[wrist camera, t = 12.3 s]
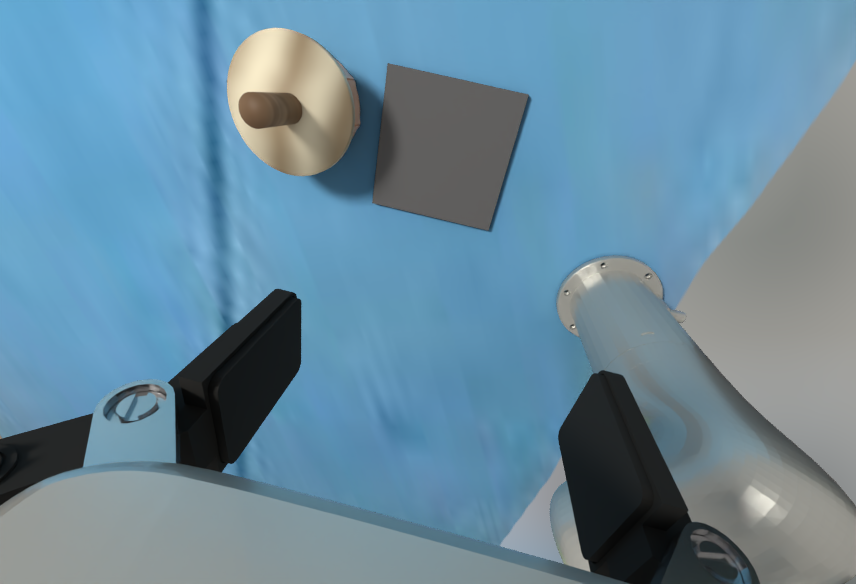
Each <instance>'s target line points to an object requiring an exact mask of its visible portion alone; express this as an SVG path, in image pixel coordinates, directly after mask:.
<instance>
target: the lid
mask: <svg viewBox="0 0 856 584" xmlns="http://www.w3.org/2000/svg"><path fill="white" fill-rule="evenodd" d="M227 95H228V102H229V107H230V111H231V114H232V118H233V120H234V123H235V125H236V127H237V129H238V131H239V133H240V135H241V137H242V138H243V140H244V141H245V143H246V144H247V145H248V147H249V148H250V149H251V150H252V151H253V152H254V153H255V154H256V155H257V156H258V157H259V158H260V159H261V160H262V161H264V162H265V163H266V164H268V165H269V166H271V167H272V168H274V169H276V170H278V171H280V172H283V173H286V174H290V175H294V176H310V175H314V174H318V173H320V172H323V171H325V170H327V169H329V168H330V167H332V166H333V165H335V164H336V163H337V162H338V161H339V160H340V159H341V158H342V157H343V155H344V154H345V152H346V151H347V149H348V147H349V145H350V143H351V139H352V136H353V132H354V126H355V107H354V100H353V96H352V92H351V88H350V86H349V83H348V81H347V78H346V76H345V74H344V72H343V70H342V69H341V67H340V66H339V64H338V63H337V61H336V60H335V59H334V57H333V56H332V55H331V54H330V53H329V52H328V51H327V50H326V49H325V48H324V47H323V46H322V45H320V44H319V43H318V42H316V41H315V40H314V39H312V38H310V37H308V36H306V35H304V34H301V33H298V32H296V31H293V30H289V29H284V28H270V29H264V30H261V31H259V32H256V33H255V34H253V35H251V36H250V37H248V38H247V39H246V40H245V41H244V42H243V43H242V44H241V45H240V46H239V48H238V49H237V51H236V52H235V54H234V56H233V59H232V61H231V64H230V67H229V71H228V79H227Z"/></svg>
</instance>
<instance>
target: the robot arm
mask: <svg viewBox="0 0 856 584" xmlns="http://www.w3.org/2000/svg"><path fill="white" fill-rule="evenodd" d="M602 263H603V264H602ZM565 290H567V291H565ZM662 299H663V288H662V284H661V281H660V279H659V278H658V276H657V275H656V273H655V272H654V271H653V270H652V269H651V268H650V267H649V266H647V265H646V264H645V263H643V262H641V261H639V260H637V259H635V258H631V257H627V256H616V255H613V256H604V257H600V258H596V259H593V260H591V261H588V262H586V263H584V264H582V265H581V266H579V267H578V268H576V269H575V270H574V271H573V272H571V273H570V274H569V275H568V276H567V278H566V279H565V280H564V281H563V283H562V285H561V287H560V289H559V291H558V295H557V301H556V306H557V311H558V315H559V317H560V320H561V322H562V323H563V325H564V326H565V327H566V328H567V329H568V330H569V331H570V332H571V333H573V334H574V335H576V336H578V337H580V339H581V342H582V344H583V347H584V350H585V352H586V355H587V357H588V360H589V363H590V365H591V368H592V371H593V373H594V374H592V376H591V377H590V379H589V381H588V382H587V384H586V386H585V387H584V389H583V391H582V393H581V394H580V396H579V398H578V399H577V401H576V403H575V404H574V406H573V408H572V409H571V411H570V413H569V414H568V416H567V418H566V419H565V421H564V423H563V425H562V426H561V428H560V430H559V435H558V440H559V445H560V450H561V455H562V460H563V465H564V470H565V475H566V480H567V481H565V482H564V483H563V484H561V485H560V486H559V487H558V489H557V490H556V491H555V493H554V494H553V497H552V500H551V504H550V521H551V527H552V532H553V536H554V539H555V542H556V545H557V548H558V551H559V553H560V556H561V558H562V560H563V563H564V564H562V563H558V562H554V561H551V560H546V559H543V558H540V557H536V556H533V555H529V554H525V553H522V552H518V551H515V550H511V549H507V548H504V547H500V546H497V545H493V544H489V543H486V542H482V541H479V540H475V539H471V538H468V537H464V536H460V535H457V534H453V533H449V532H446V531H442V530H438V529H435V528H431V527H427V526H424V525H420V524H416V523H413V522H409V521H405V520H401V519H398V518H394V517H390V516H387V515H383V514H379V513H376V512H372V511H368V510H364V509H361V508H357V507H353V506H349V505H346V504H342V503H338V502H334V501H331V500H327V499H323V498H319V497H316V496H312V495H308V494H304V493H301V492H297V491H293V490H289V489H285V488H282V487H278V486H274V485H270V484H266V483H262V482H258V481H254V480H250V479H246V478H242V477H238V476H234V475H230V474H226V473H222V471H223V470H224V468H225V467H226V465H227V464H228V463H230V464H232V463H234V462H235V461H236V460H237V459H238V457H239V456H240V454H241V453H242V452H243V450H244V449H245V447H246V446H247V444H248V443H249V442H250V440H251V439H252V437H253V436H254V434H255V433H256V431H257V430H258V429H259V427H260V426H261V424H262V423H263V421H264V420H265V418H266V417H267V416H268V414H269V413H270V411H271V410H272V408H273V407H274V406H275V404H276V403H277V401H278V400H279V398H280V397H281V395H282V394H283V393H284V391H285V390H286V388H287V387H288V385H289V384H290V383H291V381H292V380H293V378H294V377H295V375H296V374H297V372H298V370H299V368H300V364H301V300H300V299H298V298H297V296H296V294H295V293H293V292H289V291H285V290H281V289H275V290H274V291H273V292H272V293H270V294H269V295H268V296H267V297H266V298H265V299H264V300H263V301H262V302H260V303H259V304H258V305H257V306H256V307H255V308H254V309H253V310H251V311H250V312H249V313H248V314H247V315H246V316H245V317H244V318H243V319H241V320H240V321H239V322H238V323H235V324H234V325H232V326H231V327H230V328H229V329H228V330H227V331H225V332H224V333H223V334H222V335H221V336H220V337H219V338H218V339H216V340H215V341H214V342H213V343H212V344H211V345H210V346H209V347H207V348H206V349H205V350H204V351H203V352H202V353H201V354H200V355H198V356H197V357H196V358H195V359H194V360H193V361H192V362H191V363H189V364H188V365H187V366H186V367H185V368H184V369H183V370H182V371H180V372H179V373H178V374H177V375H176V376H175V377H174V378H173V379H171V380H170V381H169V382H168V383H167V382H164V381H161V380H154V379H147V380H139V381H135V382H131V383H128V384H125V385H123V386H121V387H119V388H117V389H114V390H113V391H112V392H110V393H109V394H107V395H106V396H104V397H103V399H102V400H101V401H100V402H99V403H98V404H97V406H96V408H95V410H94V413H93V414H89V415H85V416H82V417H78V418H75V419H71V420H67V421H64V422H60V423H57V424H53V425H50V426H46V427H42V428H39V429H35V430H32V431H28V432H24V433H21V434H17V435H14V436H10V437H6V438H3V439H0V584H844V583H846V582H847V581H849V580H851V579H852V578H854V577H855V576H856V506H855V504H854V503H853V502H852V501H851V499H850V498H849V497H848V496H847V494H846V493H845V492H844V491H843V490H842V489H841V487H840V486H839V485H838V484H837V483H836V481H835V480H834V479H832V478H831V477H830V476H829V475H828V474H827V473H826V472H825V471H824V470H823V469H822V468H821V467H820V466H819V465H818V464H817V463H816V462H815V461H814V460H813V459H812V458H811V457H809V456H808V455H807V454H806V453H805V452H804V451H802V450H801V449H800V448H799V447H798V446H797V445H796V444H794V443H793V442H792V441H791V440H790V439H789V438H787V437H786V436H785V435H784V434H783V433H782V432H780V431H779V430H778V429H777V428H776V427H775V426H773V425H772V424H771V423H770V422H769V421H768V420H766V419H765V418H764V417H763V416H762V415H761V414H760V413H759V412H758V411H757V410H756V409H755V408H754V407H753V406H752V405H751V404H750V403H749V402H748V401H747V400H746V399H745V398H744V397H743V396H742V395H741V394H740V393H739V392H738V391H737V390H736V389H735V388H734V387H733V385H731V383H730V382H729V381H728V380H727V379H726V378H725V377H724V376H723V375H722V374H721V372H720V371H719V370H718V369H717V368H716V366H715V365H714V364H713V363H712V362H711V360H710V359H709V358H708V357H707V356H706V355H705V354H704V353H703V351H702V350H701V349H700V348H699V347H698V345H697V344H696V343H695V342H694V341H693V340H692V339H691V337H690V336H689V335H688V334H687V332H686V331H685V330H684V329H683V328H682V327H681V325H680V324H679V323H683V322H684V321H685V320H686V314H685V313H684V312H681V311H677V310H670V308H669V307H668V306H667V305H666V304H665V303H664V301H663V300H662ZM678 322H679V323H678Z"/></svg>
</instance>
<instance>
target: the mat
mask: <svg viewBox="0 0 856 584" xmlns="http://www.w3.org/2000/svg"><path fill="white" fill-rule="evenodd" d="M528 96H529V95H528V94H523V93H519V92H514V91H510V90H505V89H501V88H496V87H492V86H487V85H483V84H478V83H474V82H469V81H465V80H460V79H456V78H451V77H447V76H443V75H438V74H434V73H429V72H425V71H420V70H416V69H411V68H407V67H402V66H398V65H393V64H389V63H388V66H387V75H386V84H385V93H384V102H383V111H382V120H381V130H380V139H379V148H378V157H377V166H376V175H375V184H374V193H373V202H372V203H375V204H379V205H383V206H387V207H392V208H396V209H400V210H404V211H408V212H412V213H417V214H421V215H425V216H429V217H433V218H438V219H442V220H446V221H450V222H454V223H459V224H463V225H467V226H471V227H475V228H480V229H484V230H489V227H490V223H491V220H492V217H493V213H494V210H495V207H496V203H497V200H498V197H499V193H500V190H501V186H502V183H503V180H504V176H505V173H506V170H507V166H508V163H509V160H510V156H511V153H512V149H513V146H514V143H515V139H516V136H517V133H518V129H519V126H520V123H521V119H522V116H523V112H524V109H525V106H526V102H527V99H528Z"/></svg>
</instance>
